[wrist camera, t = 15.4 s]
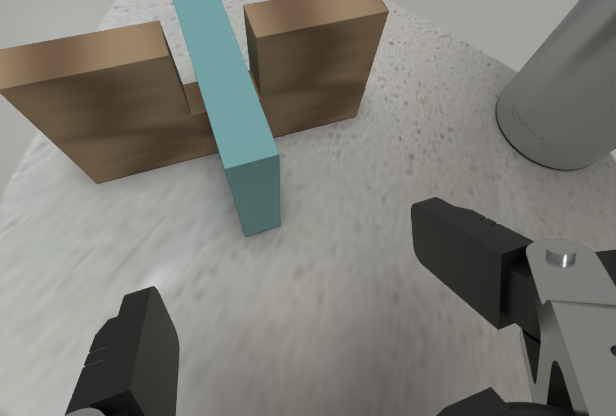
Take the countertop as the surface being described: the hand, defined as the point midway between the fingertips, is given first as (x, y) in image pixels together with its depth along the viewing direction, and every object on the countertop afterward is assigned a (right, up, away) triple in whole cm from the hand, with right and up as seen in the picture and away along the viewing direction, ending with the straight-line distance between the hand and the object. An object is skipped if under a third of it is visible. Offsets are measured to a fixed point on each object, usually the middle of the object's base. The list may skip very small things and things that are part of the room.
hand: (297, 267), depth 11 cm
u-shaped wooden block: (-6, +8, +16) cm, 19 cm away
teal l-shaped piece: (-5, +6, +16) cm, 18 cm away
